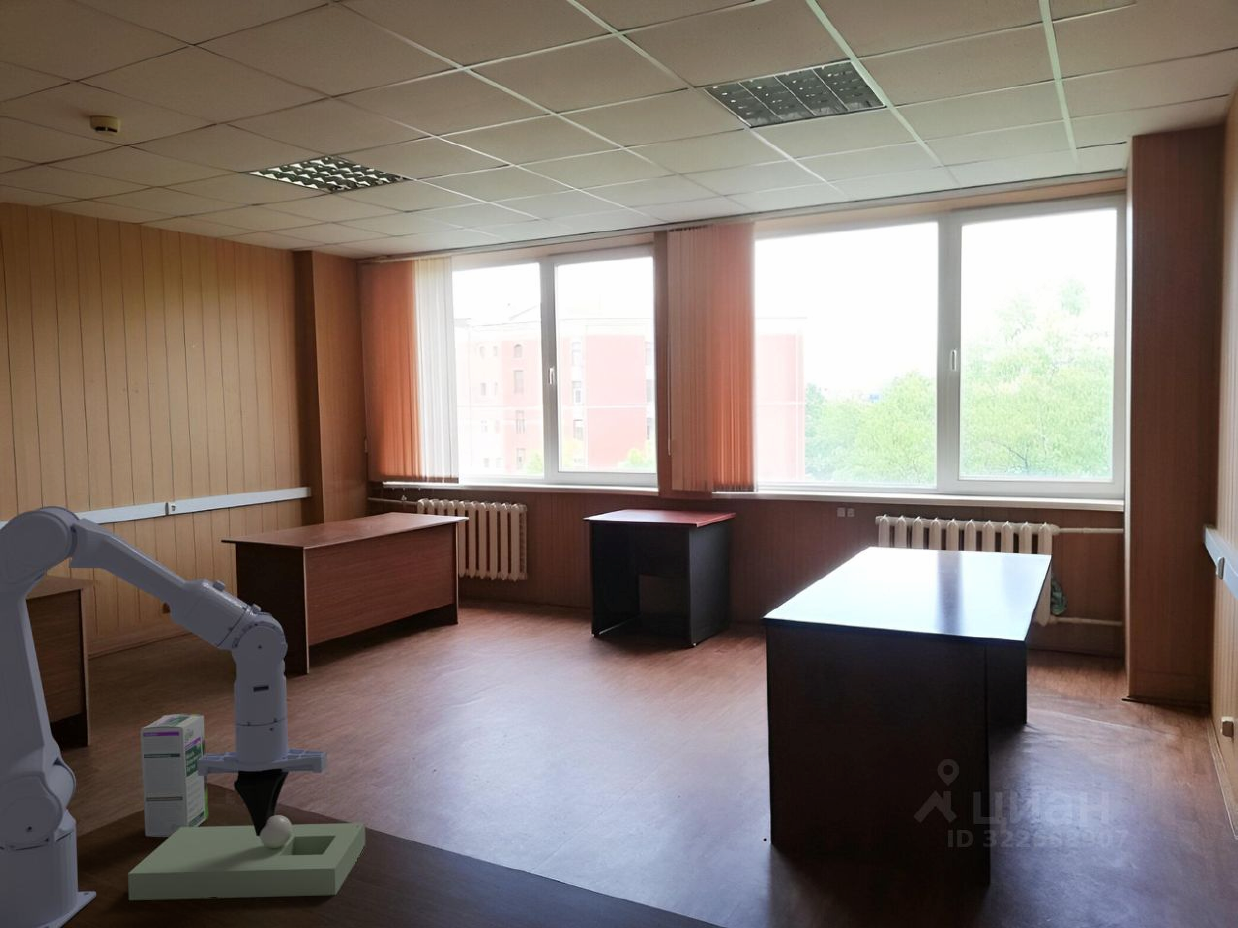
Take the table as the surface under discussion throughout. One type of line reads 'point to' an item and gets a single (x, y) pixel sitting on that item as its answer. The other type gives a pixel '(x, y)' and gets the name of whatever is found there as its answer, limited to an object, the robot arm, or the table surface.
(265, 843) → the ball
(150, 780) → the syrup box
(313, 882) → the green board
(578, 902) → the table surface
